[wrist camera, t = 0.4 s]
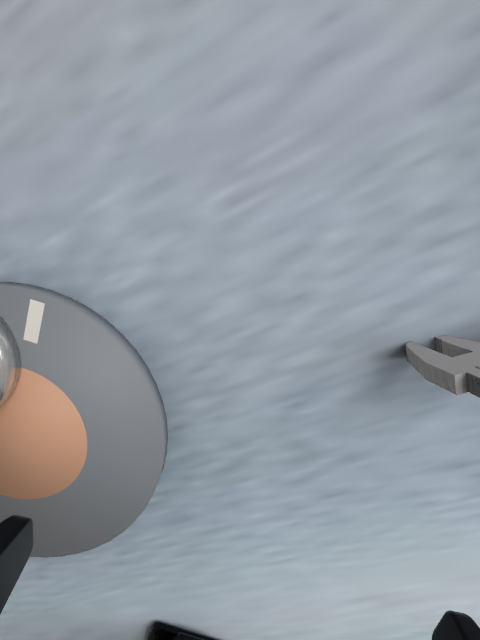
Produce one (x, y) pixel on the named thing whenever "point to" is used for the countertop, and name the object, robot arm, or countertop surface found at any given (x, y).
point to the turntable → (76, 424)
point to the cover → (8, 362)
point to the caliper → (448, 363)
